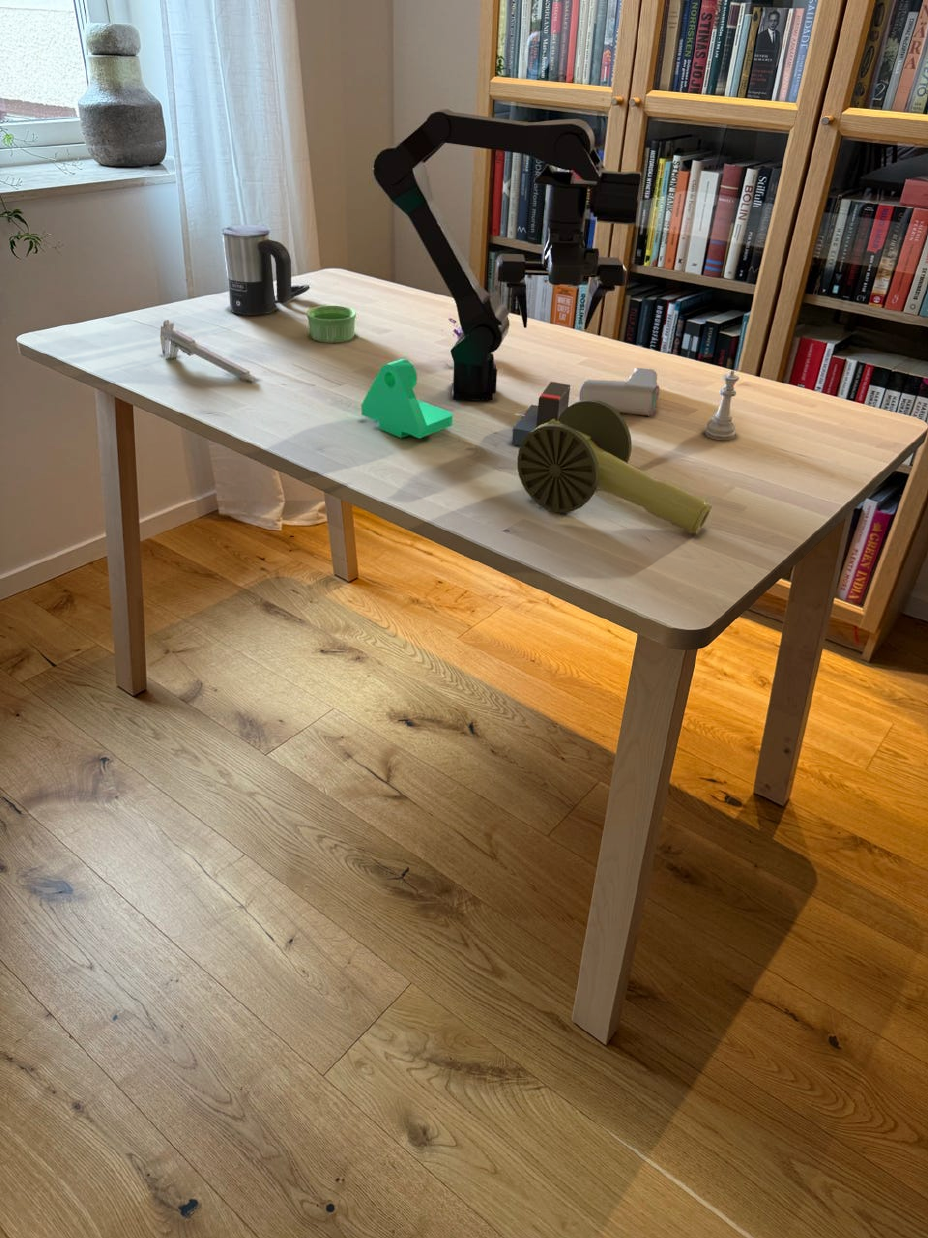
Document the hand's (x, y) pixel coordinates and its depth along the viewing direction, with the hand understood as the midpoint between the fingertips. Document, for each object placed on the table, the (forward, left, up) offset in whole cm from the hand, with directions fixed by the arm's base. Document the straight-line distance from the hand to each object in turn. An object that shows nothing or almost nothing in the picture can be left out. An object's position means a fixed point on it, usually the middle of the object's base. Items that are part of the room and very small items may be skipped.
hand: (554, 327), depth 144 cm
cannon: (+5, -36, -12) cm, 38 cm away
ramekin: (-37, +30, -12) cm, 49 cm away
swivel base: (0, -14, -12) cm, 18 cm away
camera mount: (-22, -11, -12) cm, 27 cm away
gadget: (-1, -13, -9) cm, 17 cm away
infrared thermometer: (+12, +3, -12) cm, 17 cm away
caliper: (-56, +11, -12) cm, 58 cm away
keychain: (-13, +22, -9) cm, 27 cm away
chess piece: (+25, -11, -12) cm, 30 cm away
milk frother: (-51, +48, -12) cm, 71 cm away
